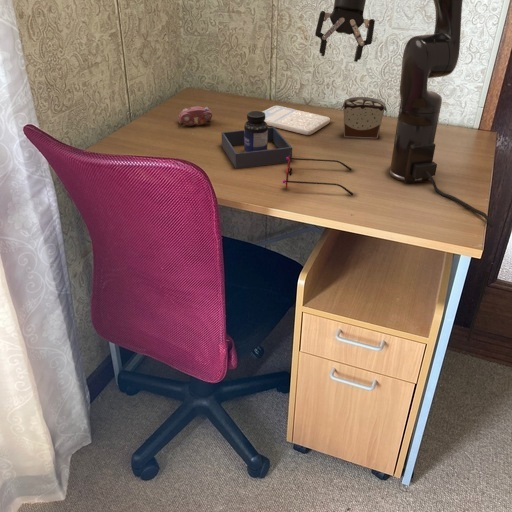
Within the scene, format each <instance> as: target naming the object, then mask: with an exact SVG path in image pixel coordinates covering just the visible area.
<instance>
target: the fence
mask: <svg viewBox="0 0 512 512" xmlns="http://www.w3.org/2000/svg"><path fill="white" fill-rule="evenodd" d="M269 142H271V143H272V142H273V143H274V145H275V146H276V147H277V148H270V149H267V150H260V151H251V152H244V151H243V152H237V151H236V150H235V148H234V146H244V129H241V130H230V131H222V132H221V147H222V149H223V150H224V152H225V154H226V155H227V157H228V158H229V160H230V162H231V164H232V165H233V166H234V168H235V169H243V168H245V169H246V168H252V167H253V168H254V167H261V166H262V167H263V166H270V165H277V164H286V163H287V164H288V161H289V160H287V159H286V158H287V157H289V156H290V153H291V158H293V147H292V145H291V144H290V143H289V142H288V141H287V140H286V138H285V137H284V136H283V135H282V134H281V133H280V132H279V131H278V130H277V128H276V127H272V126H268V137H267V143H269ZM292 161H293V159H290V163H292Z"/></svg>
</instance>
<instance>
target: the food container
mask: <svg viewBox="0 0 512 512" xmlns="http://www.w3.org/2000/svg"><path fill="white" fill-rule="evenodd" d="M342 110H343V137H344V138H350V139H351V138H354V139H372V140H373V139H375V140H376V139H378V138H379V134H380V129H381V125H382V122H383V117H384V114H385V112H387V106H386V103H385V102H384V101H383V100H381V99H379V98H376V97H375V98H374V97H370V96H353V97H348V98H347V99H344V101H343V103H342V105H341V111H342Z"/></svg>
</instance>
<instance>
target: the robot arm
mask: <svg viewBox="0 0 512 512" xmlns="http://www.w3.org/2000/svg"><path fill="white" fill-rule="evenodd" d="M432 1H433V4H434V11H435V21H434V22H435V23H434V32H433V33H432V34H430V33H429V34H421V35H414V36H412V37H410V38H409V39H408V41H407V42H406V44H405V46H404V49H403V54H402V59H401V71H400V80H399V98H400V103H399V108H398V115H397V121H396V129H395V133H394V134H395V135H394V141H393V148H392V155H391V162H390V166H389V171H388V172H389V175H390V176H391V177H392V178H394V179H395V180H397V181H401V182H404V183H405V184H414V183H420V182H427V181H430V182H431V183H432V187H433V190H434V191H435V192H436V193H437V194H438V195H440V196H442V197H444V198H446V199H450V200H452V201H454V202H456V203H458V204H460V205H461V206H463V207H465V208H467V209H468V210H470V211H472V212H474V213H476V214H478V215H480V216H482V217H483V218H484V220H486V223H487V225H488V227H489V228H494V226H493V225H494V224H493V222H492V220H491V218H490V217H489V215H487V214H486V213H485V212H483V211H482V210H479V209H477V208H475V207H474V206H471V205H470V204H468V203H467V202H465V201H463V200H461V199H459V198H458V197H456V196H454V195H451V194H448V193H445V192H443V191H441V190H440V189H439V188H438V187H437V183H436V180H435V179H434V177H436V173H437V168H438V164H437V163H436V162H435V161H434V156H435V152H436V147H437V146H436V143H435V139H436V135H437V134H436V133H437V129H438V124H439V119H440V114H441V108H442V104H443V98H442V95H440V93H438V92H435V91H433V90H430V89H428V80H429V79H434V78H442V77H447V76H449V75H451V74H452V73H453V72H454V70H455V69H456V67H457V65H458V61H459V57H460V49H461V35H462V33H461V32H462V13H463V2H464V0H432ZM366 3H367V0H334V3H333V9H332V11H331V13H330V12H326V11H325V10H321V11H320V12H319V16H318V20H317V24H316V28H315V33H314V36H315V37H317V38H319V39H320V45H319V54H320V55H321V57H325V55H326V49H327V44H328V38H329V37H330V36H331V35H333V33H334V32H336V33H337V34H344V35H348V36H349V35H353V37H354V39H355V41H356V42H357V46H356V48H355V54H354V58H353V62H355V63H359V62H358V61H359V60H361V59H362V55H363V51H364V50H363V49H364V47H365V46H369V45H371V44H372V43H373V38H374V37H373V36H374V30H375V22H376V21H375V19H374V18H371V19H369V18H364V12H365V7H366ZM328 19H330V22H331V24H332V26H331V27H330V28H328V30H327V31H325V33H323V32H322V29H323V25H324V22H326V21H328ZM363 24H364V26H365V28H366V29H367V30H366V36H365V40H364V39H363V36H362V34H361V31H360V30H359V28H360V27H362V25H363ZM489 275H490V272H489V271H485V273H484V278H483V282H482V285H481V288H480V289H481V290H480V294H479V297H478V300H477V304H476V307H475V310H474V313H473V317H472V320H471V323H470V327H469V330H468V333H467V338H466V341H467V342H471V339H472V336H473V335H472V334H473V331H474V327H475V324H476V320H477V318H478V314H479V311H480V308H481V304H482V302H483V298H484V295H485V291H486V287H487V284H488V279H489Z"/></svg>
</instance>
